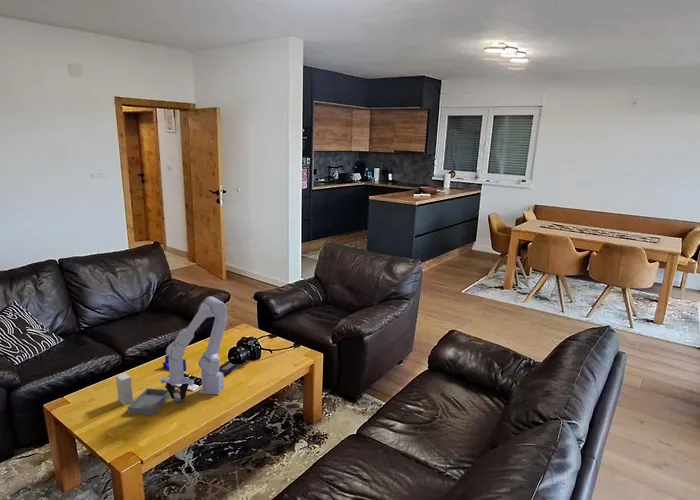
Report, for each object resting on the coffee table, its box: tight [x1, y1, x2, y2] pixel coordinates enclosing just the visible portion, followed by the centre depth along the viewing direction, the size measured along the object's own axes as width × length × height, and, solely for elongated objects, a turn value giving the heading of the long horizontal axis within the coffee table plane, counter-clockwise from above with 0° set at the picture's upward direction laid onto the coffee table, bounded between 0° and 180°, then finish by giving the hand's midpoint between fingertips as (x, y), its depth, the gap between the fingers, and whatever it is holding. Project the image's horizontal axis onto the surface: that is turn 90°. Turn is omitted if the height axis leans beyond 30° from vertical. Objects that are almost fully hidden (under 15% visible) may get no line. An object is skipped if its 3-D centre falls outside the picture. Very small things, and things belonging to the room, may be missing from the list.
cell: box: [173, 388, 185, 405], centre depth 198 cm, size 4×4×6 cm
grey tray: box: [127, 387, 171, 416], centre depth 195 cm, size 11×15×3 cm
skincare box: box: [115, 372, 134, 406], centre depth 196 cm, size 6×4×12 cm
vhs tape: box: [219, 360, 242, 378], centre depth 227 cm, size 8×14×2 cm, turn 156°
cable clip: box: [162, 354, 187, 372], centre depth 226 cm, size 12×4×6 cm, turn 59°
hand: (178, 398), depth 198 cm, fingers closed on cell, 4 cm apart
